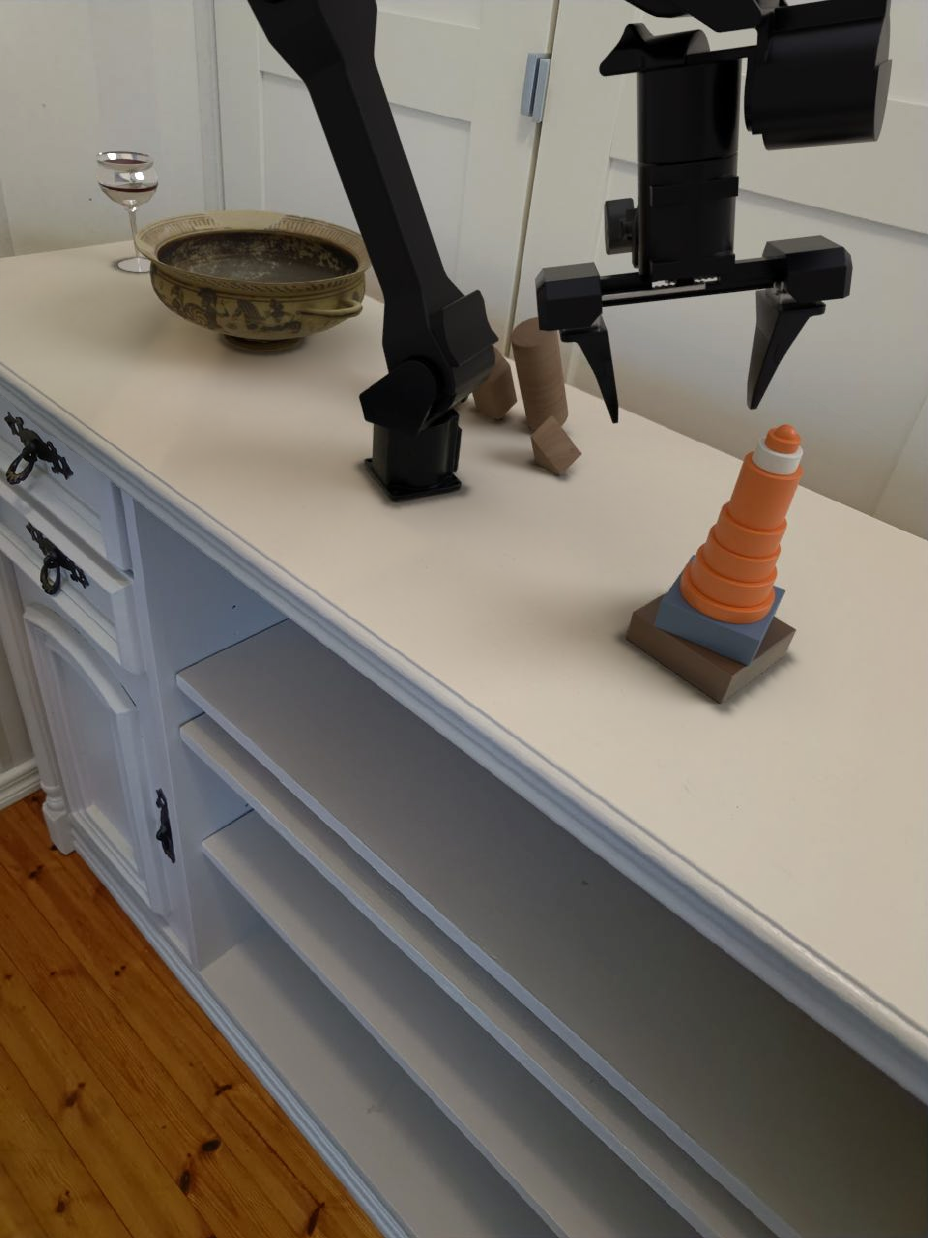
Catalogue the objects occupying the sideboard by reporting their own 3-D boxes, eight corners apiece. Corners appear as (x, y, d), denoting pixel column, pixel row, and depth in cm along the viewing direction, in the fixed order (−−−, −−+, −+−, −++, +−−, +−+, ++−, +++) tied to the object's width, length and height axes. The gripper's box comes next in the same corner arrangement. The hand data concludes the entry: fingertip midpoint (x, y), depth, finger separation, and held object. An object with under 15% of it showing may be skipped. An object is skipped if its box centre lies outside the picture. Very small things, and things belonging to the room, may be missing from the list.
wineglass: (135, 252, 109) (120, 147, 101) (179, 264, 107) (168, 158, 99) (97, 265, 104) (79, 156, 96) (143, 278, 102) (128, 167, 94)
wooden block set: (422, 421, 86) (394, 337, 78) (477, 369, 88) (456, 283, 80) (563, 489, 77) (549, 402, 68) (620, 429, 79) (613, 339, 71)
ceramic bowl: (437, 364, 91) (445, 268, 85) (243, 418, 78) (236, 309, 71) (278, 277, 107) (275, 191, 101) (93, 310, 93) (76, 212, 87)
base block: (720, 704, 55) (732, 677, 53) (625, 638, 59) (632, 611, 57) (785, 655, 59) (797, 629, 58) (691, 597, 63) (700, 571, 62)
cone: (699, 625, 53) (763, 450, 46) (666, 568, 58) (719, 400, 50) (786, 623, 54) (862, 451, 47) (747, 567, 59) (811, 402, 51)
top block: (749, 667, 54) (760, 641, 53) (652, 626, 56) (661, 600, 55) (775, 614, 59) (786, 589, 57) (685, 579, 61) (693, 553, 60)
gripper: (810, 128, 56) (790, 365, 64) (526, 165, 58) (542, 391, 66) (871, 139, 46) (838, 416, 55) (528, 184, 48) (547, 444, 57)
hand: (682, 414), depth 58 cm, fingers open, 9 cm apart
